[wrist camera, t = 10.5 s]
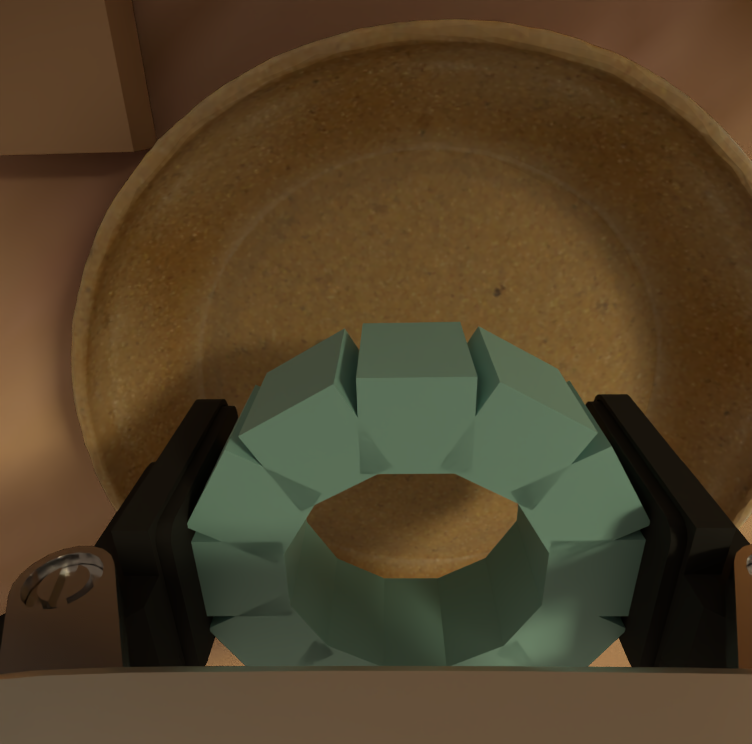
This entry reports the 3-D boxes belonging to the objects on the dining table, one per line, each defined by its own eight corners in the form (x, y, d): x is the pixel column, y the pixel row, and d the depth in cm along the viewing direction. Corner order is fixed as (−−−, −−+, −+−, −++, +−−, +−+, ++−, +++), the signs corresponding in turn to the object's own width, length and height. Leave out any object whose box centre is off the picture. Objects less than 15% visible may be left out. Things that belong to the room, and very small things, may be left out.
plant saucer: (141, 570, 17) (101, 645, 15) (93, -15, 11) (9, -48, 8) (623, 619, 17) (659, 700, 15) (853, 88, 11) (978, 85, 9)
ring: (194, 326, 9) (148, 381, 7) (632, 319, 9) (692, 373, 7) (257, 682, 13) (236, 777, 11) (566, 684, 13) (596, 780, 11)
